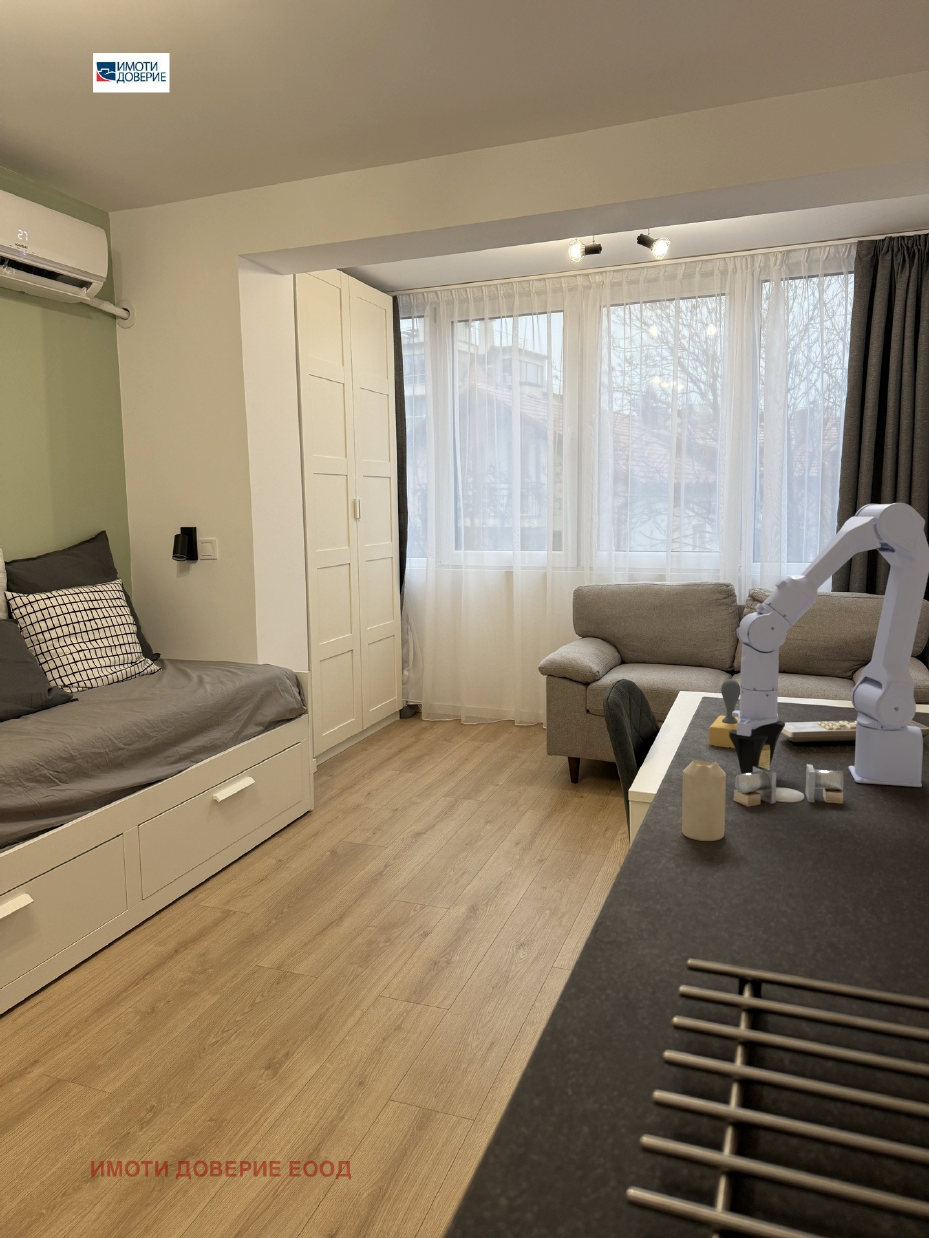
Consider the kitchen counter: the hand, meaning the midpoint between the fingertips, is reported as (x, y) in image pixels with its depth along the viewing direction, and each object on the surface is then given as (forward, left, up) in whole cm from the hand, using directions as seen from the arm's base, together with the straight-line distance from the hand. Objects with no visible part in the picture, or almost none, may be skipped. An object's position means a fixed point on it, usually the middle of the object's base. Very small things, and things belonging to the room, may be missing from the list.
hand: (756, 769), depth 135 cm
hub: (0, 0, -2) cm, 2 cm away
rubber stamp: (+4, -23, -2) cm, 23 cm away
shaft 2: (-9, +8, -1) cm, 12 cm away
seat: (-4, +8, -1) cm, 9 cm away
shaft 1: (+1, +12, -1) cm, 12 cm away
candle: (+8, +27, -2) cm, 28 cm away
